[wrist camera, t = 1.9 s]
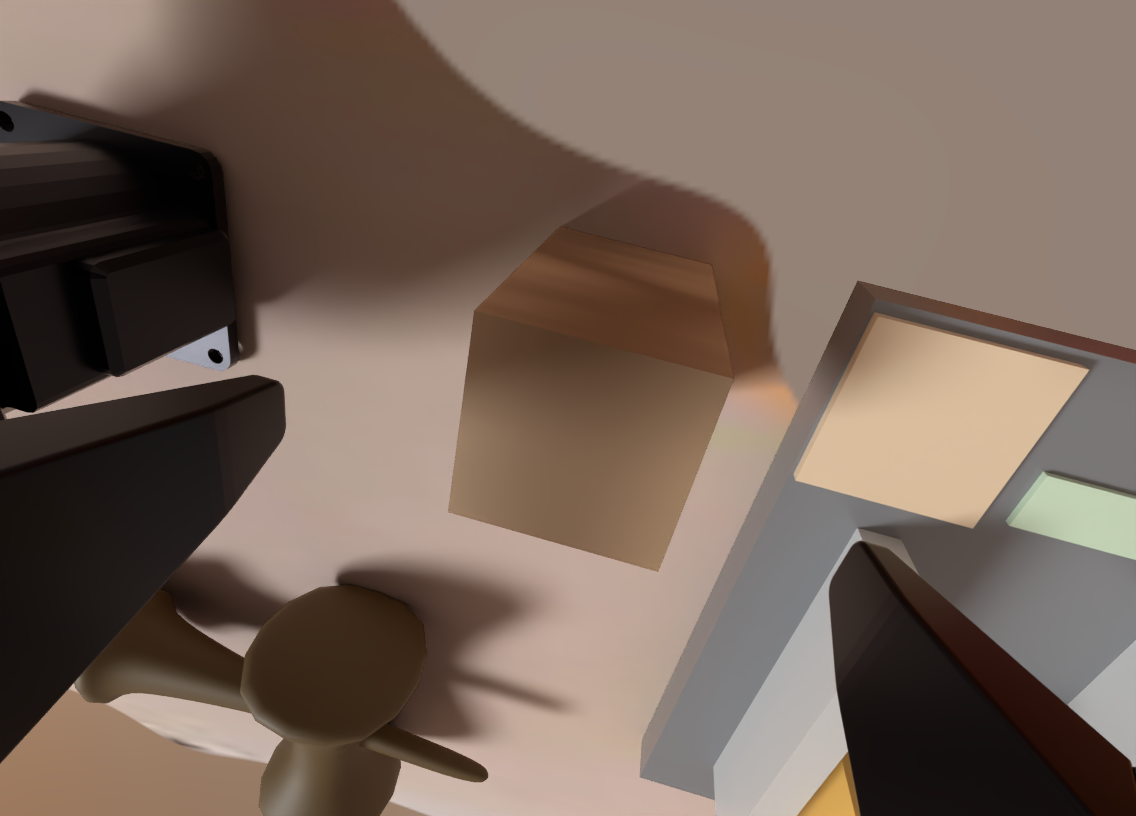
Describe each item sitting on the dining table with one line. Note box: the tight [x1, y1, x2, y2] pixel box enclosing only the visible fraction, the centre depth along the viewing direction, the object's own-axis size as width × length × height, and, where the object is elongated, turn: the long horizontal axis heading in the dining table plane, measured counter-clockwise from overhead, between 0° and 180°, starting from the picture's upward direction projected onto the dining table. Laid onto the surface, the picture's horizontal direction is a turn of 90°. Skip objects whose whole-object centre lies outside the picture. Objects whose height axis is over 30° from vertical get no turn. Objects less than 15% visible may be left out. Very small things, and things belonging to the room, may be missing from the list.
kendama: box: [74, 585, 488, 816], centre depth 23 cm, size 6×10×20 cm
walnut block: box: [448, 227, 734, 572], centre depth 13 cm, size 4×4×7 cm
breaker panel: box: [640, 281, 1136, 816], centre depth 17 cm, size 14×20×4 cm
